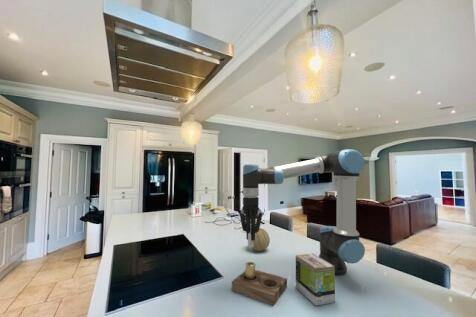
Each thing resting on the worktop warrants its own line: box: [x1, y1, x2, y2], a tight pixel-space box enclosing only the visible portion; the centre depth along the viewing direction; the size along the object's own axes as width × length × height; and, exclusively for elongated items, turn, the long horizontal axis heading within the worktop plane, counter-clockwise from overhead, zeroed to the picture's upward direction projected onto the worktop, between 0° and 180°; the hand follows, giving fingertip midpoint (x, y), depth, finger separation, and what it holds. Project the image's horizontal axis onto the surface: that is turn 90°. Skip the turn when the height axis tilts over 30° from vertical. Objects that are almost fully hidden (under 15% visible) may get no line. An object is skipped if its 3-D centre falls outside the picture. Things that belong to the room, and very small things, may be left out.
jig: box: [231, 269, 288, 306], centre depth 98 cm, size 16×20×4 cm
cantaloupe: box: [251, 227, 271, 252], centre depth 146 cm, size 15×15×15 cm
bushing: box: [245, 261, 256, 280], centre depth 101 cm, size 4×4×10 cm
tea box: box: [295, 253, 336, 306], centre depth 95 cm, size 15×10×15 cm, turn 17°
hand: (250, 246), depth 101 cm, fingers closed
